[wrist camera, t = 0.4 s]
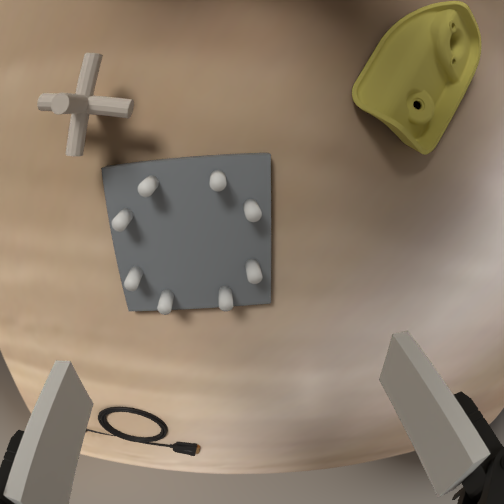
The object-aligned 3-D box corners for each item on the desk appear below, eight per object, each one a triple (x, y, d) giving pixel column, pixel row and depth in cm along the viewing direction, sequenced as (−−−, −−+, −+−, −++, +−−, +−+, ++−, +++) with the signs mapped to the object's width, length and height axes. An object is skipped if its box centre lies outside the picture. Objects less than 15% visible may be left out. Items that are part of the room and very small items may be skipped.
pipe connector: (56, 144, 30) (8, 157, 20) (72, 60, 26) (26, 47, 17) (134, 154, 31) (103, 170, 22) (153, 66, 28) (128, 47, 19)
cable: (57, 385, 45) (55, 390, 44) (207, 417, 51) (207, 423, 49) (68, 424, 50) (66, 429, 49) (197, 451, 56) (197, 456, 54)
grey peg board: (105, 166, 32) (91, 173, 27) (268, 152, 33) (275, 158, 29) (131, 304, 39) (123, 325, 35) (269, 296, 40) (274, 317, 36)
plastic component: (427, 160, 33) (392, 122, 26) (385, 136, 38) (344, 100, 31) (486, 47, 25) (462, -6, 19) (443, 33, 30) (412, -14, 24)
